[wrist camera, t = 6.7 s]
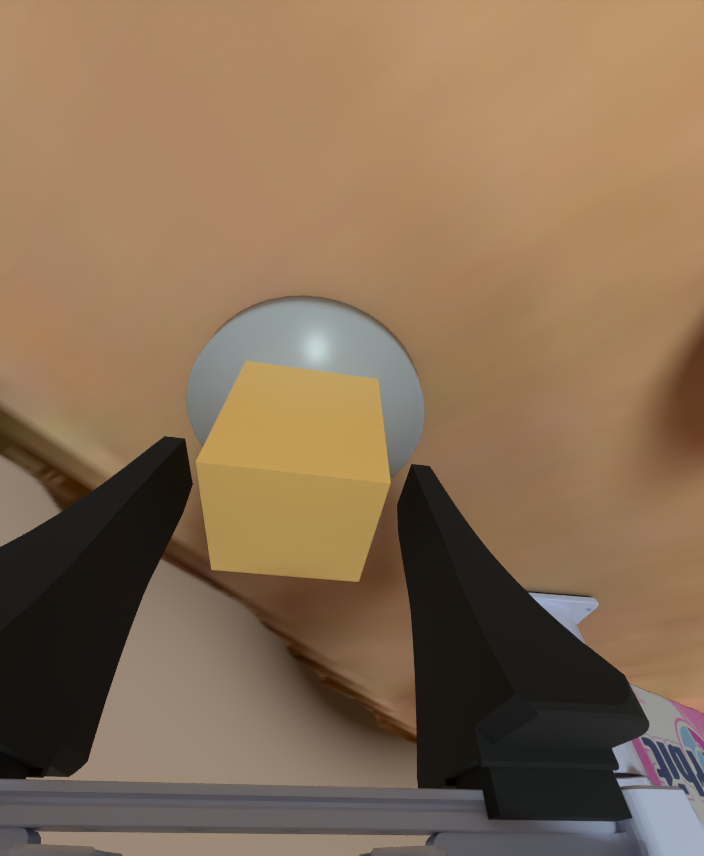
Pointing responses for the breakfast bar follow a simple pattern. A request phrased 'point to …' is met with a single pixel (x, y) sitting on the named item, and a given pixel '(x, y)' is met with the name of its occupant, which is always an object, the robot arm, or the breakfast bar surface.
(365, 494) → the mustard yellow cube
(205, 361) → the grey disc
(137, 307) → the breakfast bar surface
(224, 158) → the breakfast bar surface
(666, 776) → the gum box
